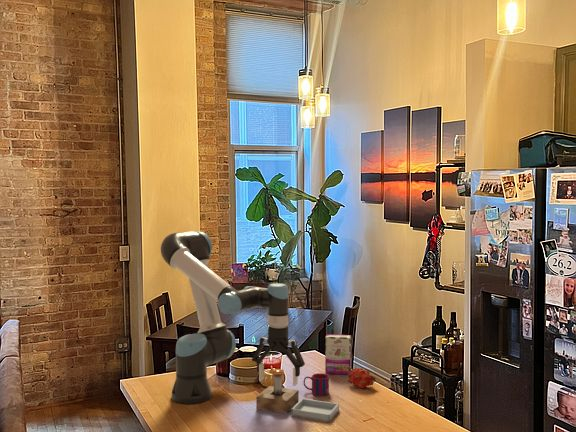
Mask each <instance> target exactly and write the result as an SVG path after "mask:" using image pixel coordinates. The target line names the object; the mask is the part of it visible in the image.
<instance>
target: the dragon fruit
mask: <svg viewBox="0 0 576 432" xmlns="http://www.w3.org/2000/svg"><path fill="white" fill-rule="evenodd" d="M370 373H371V372H370V371H369V370H366V368H365V369H364V368H362V367H361V368H359V367H354V368H351V371H350V372H349V374H348V375H346V376H347V382H348V383H349V384H352V385H354V387H355V389H358V388H361V389H364V390H369V389H370V387H369V386H373V385H374V382H377V378H376V377H375V376H374V375H372V374H370Z"/></svg>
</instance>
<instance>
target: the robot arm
mask: <svg viewBox="0 0 576 432" xmlns="http://www.w3.org/2000/svg"><path fill="white" fill-rule="evenodd" d="M212 251H213V243H212V240H211V238H210V237H209V235H207V234H206V233H205V232H202V231H196V230H194V231H185V232H183V231H182V232H173V233H170V234H168V235H166V236H165V238H164V239H163V240H162V242H161V245H160V253H161V258H162V259H163V261H164V262H165V263H166V264H167V265H169V266H170V268H172V269H174V270H177V269H178V271H180V272H181V273H182V274H184V275H185V276H186V277H187V278H188V280H189V284H190V290H191V294H192V298H193V302H194V306H195V311H196V314H197V315H196V316H197V319H198V322H199V329H198V331H197V332H196V333H192V334H191V333H189V334H185V335H183V336H181V337H179V338H178V339H177V341H176V344H175V380H174V382H173V386H172V390H171V400H172V401H173V402H175V403H179V404H187V405H188V404H189V405H191V404H200V403H204V402H206V401H208V400H210V399H211V398H212V389H211V386H210V382H209V380H208V376H207V373H208V372H207V368H208V367H207V366H210V365H213V364H217V363H220V362H223V361H225V360H226V359H229V358H230V357H232V355H233V354H234V352H235V350H236V345H237V344H236V343H237V342H236V341H237V340H236V338H235V335H234V333H233V332H232V331H231V330H229V329H228V328H227V325H226V324H225V323H223V322H222V321H221V315H220V313H222V314H224V315H235V314H237V313H240V312H244V311H249V310H253V309H256V308H261V309H267V317H268V318H267V324H268V327H267V337H266V336H262V337H260V339H259V344H258V346H257V348H256V350H255V352H254V354H253V356H252V359H251V360H252V362H254V363H256V371H257V372H258V381H259V382H262V381H263V380H264V378H265V362H264V361H263V360H264V359H265V358H266V357H268V354H270V353H271V352H272V351H273V352H279V353H281V352H282V353H283V354H284V355H285V356H286V357H287V358H288V359H289V361H290V363H291V364H292V365H293V366H294V367H293V368H292V386H293V387H296V386H297V385H298V378H299V377H300V375H301V368H303V367H304V366H305V365H306V363H305V360H304V358H303V356H302V353H301V352H300V349H299V347H298V344H297V342H298V341H297V339H293V340H290V339H289V327H288V326H289V287H288V285H287V284H285V283H275V282H274V283H270V284H268V286H267V288H266V287H260V286H255V285H253V286H251V285H249V286H248V285H247V286H245V287H244V288H242V289H240V290H238V289H235V288H234V287H233V286H232V285H230V284H229V283H228V282H227V281H225V280H224V279H223V278H222V277H220V276H219V274H216V272H215V271H213V270H212V269H211V268H209V266H208V264H210V263H209V262H210V261H211V258H210V256H211V255H212ZM219 311H220V312H219ZM266 343H267V344H268V347H267V348H266V350H265V351H264V352H263V353H261V352H262V351H263V349H264V346H265V344H266ZM288 345H289V346H290V347H291V349H290V347H289V346H288ZM291 350H292V351H291Z"/></svg>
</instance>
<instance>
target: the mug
mask: <svg viewBox="0 0 576 432" xmlns="http://www.w3.org/2000/svg"><path fill="white" fill-rule="evenodd" d="M306 379H310V380H311V387H308V386H307V385H306ZM303 386H304V388H306V390H309V391H311V394H312V395H314V396H318V397H319V396H320V397H324V396H325V397H326V396H327V395H329V393H330V375H329V374H326V373H313V374H312V376H305V377H304V379H303Z"/></svg>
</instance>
